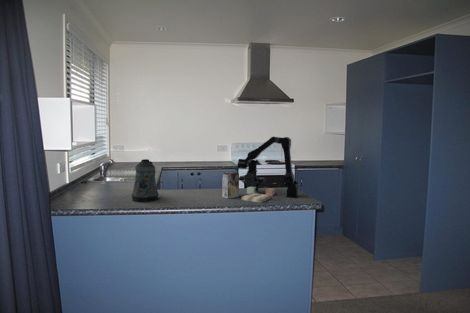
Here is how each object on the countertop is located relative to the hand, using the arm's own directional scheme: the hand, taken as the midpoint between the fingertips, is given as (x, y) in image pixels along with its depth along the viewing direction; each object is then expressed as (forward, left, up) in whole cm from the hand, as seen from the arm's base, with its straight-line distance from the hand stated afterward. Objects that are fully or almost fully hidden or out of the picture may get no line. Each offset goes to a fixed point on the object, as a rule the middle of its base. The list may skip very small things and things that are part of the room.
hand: (252, 191), depth 236 cm
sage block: (0, 0, -1) cm, 1 cm away
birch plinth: (-11, +15, -1) cm, 19 cm away
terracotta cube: (-13, -2, -1) cm, 13 cm away
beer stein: (+49, +53, -1) cm, 72 cm away
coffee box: (+6, +19, -1) cm, 20 cm away
